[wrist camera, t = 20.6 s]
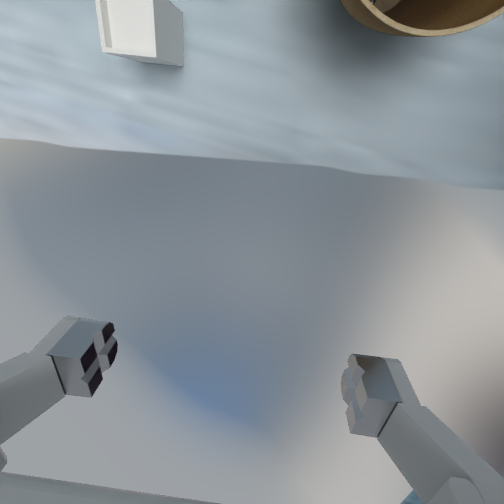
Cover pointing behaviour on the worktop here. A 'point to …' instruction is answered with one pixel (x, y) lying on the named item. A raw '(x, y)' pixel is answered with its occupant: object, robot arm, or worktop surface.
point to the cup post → (142, 30)
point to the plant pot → (423, 15)
